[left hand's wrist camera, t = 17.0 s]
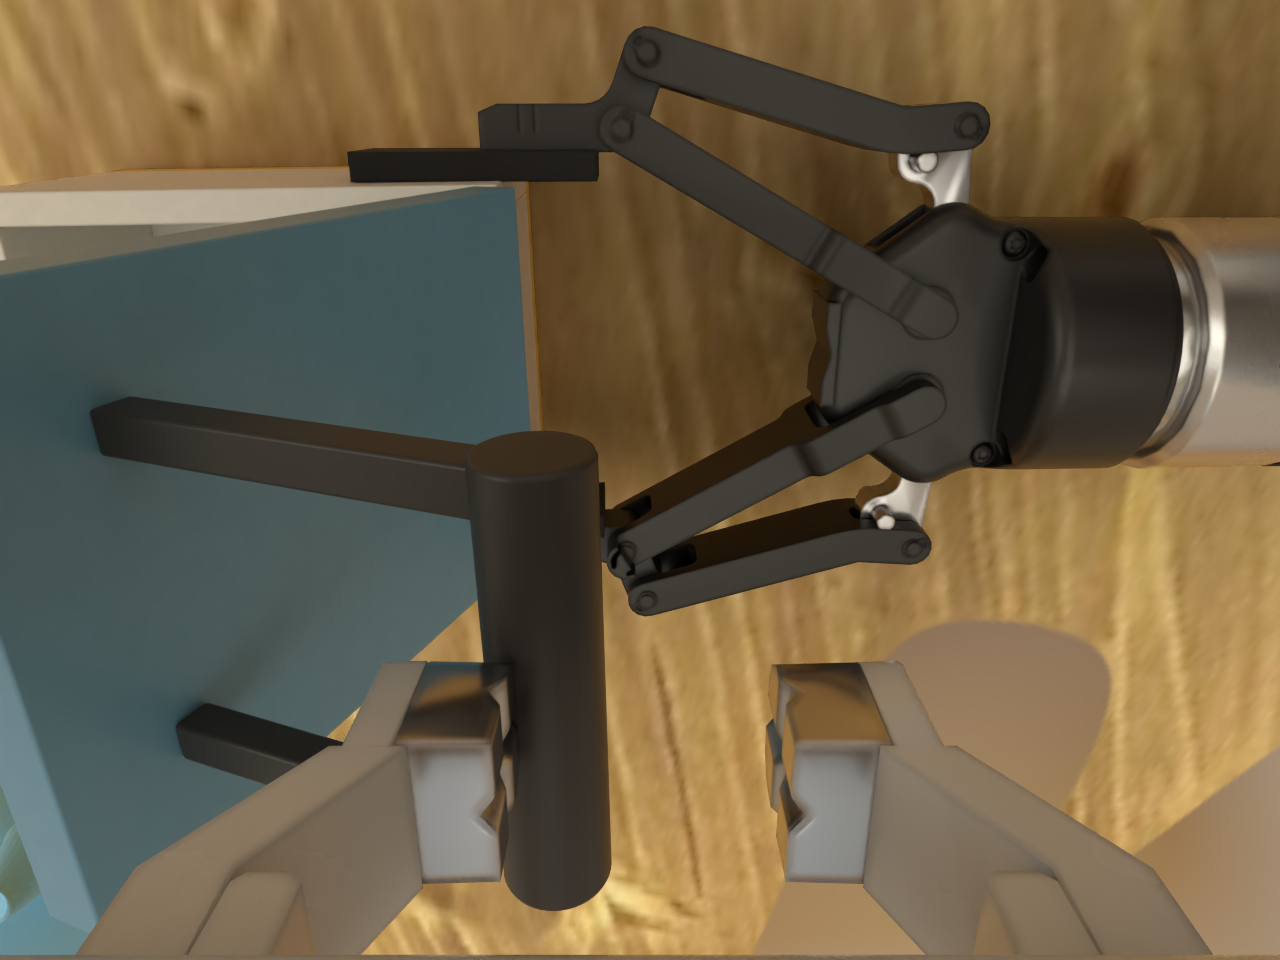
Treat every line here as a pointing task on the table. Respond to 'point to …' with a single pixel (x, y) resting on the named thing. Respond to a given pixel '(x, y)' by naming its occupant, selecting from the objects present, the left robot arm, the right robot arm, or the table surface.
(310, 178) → the chest
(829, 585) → the table surface
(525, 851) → the lid
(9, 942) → the teapot
